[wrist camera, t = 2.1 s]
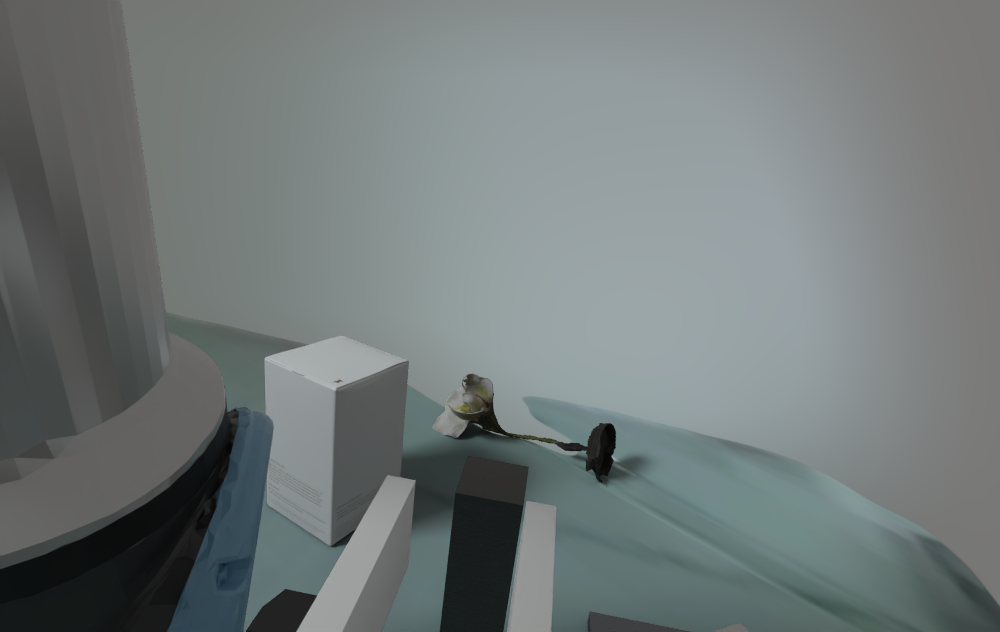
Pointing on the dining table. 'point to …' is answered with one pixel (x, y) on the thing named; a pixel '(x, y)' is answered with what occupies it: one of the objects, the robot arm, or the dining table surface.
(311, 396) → the supplement box
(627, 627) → the flange plate
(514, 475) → the round grey fixture
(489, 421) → the artificial flower
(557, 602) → the dining table surface
